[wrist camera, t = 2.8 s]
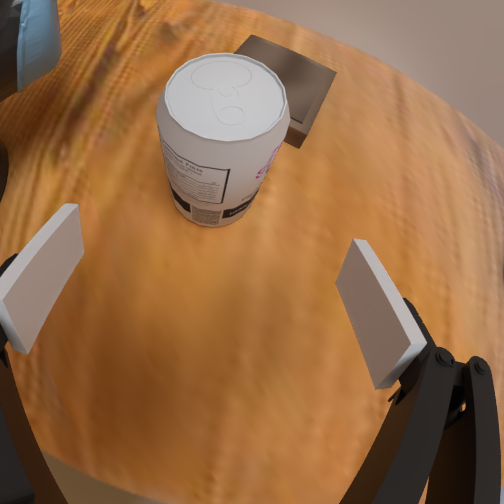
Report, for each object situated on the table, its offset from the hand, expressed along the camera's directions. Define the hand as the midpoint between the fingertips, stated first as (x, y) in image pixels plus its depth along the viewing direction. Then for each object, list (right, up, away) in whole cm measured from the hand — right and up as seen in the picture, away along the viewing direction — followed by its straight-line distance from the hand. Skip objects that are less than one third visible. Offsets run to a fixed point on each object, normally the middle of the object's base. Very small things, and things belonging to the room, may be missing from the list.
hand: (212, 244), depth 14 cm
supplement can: (-2, +6, +16) cm, 17 cm away
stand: (+4, +19, +20) cm, 28 cm away
